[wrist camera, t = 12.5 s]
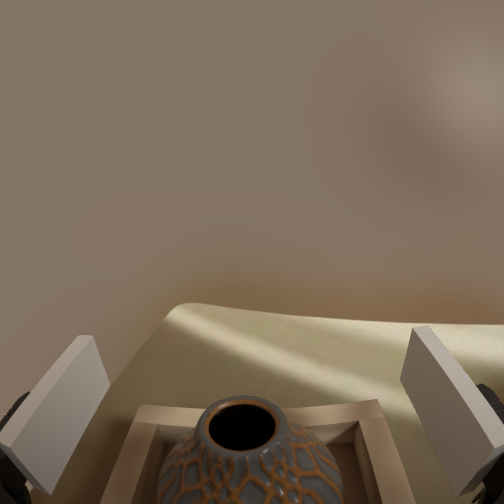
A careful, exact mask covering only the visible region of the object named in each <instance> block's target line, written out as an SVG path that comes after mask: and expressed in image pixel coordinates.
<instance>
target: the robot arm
mask: <svg viewBox="0 0 504 504" xmlns="http://www.w3.org/2000/svg"><path fill="white" fill-rule="evenodd" d="M400 381H401V383H402V385H403V387H404V389H405V391H406V393H407V395H408V397H409V398H410V400H411V402H412V404H413V406H414V408H415V410H416V412H417V414H418V416H419V418H420V420H421V422H422V424H423V426H424V428H425V430H426V433H427V435H428V437H429V439H430V441H431V443H432V445H433V447H434V449H435V452H436V454H437V456H438V458H439V460H440V462H441V465H442V467H443V469H444V471H445V474H446V476H447V478H448V480H449V483H450V485H451V487H452V490H453V492H454V494H455V497H456V498H457V497H459V496H461V495H464V494H466V493H468V492H471V491H473V490H474V489H475V488H476V487H477V486H478V485H479V484H480V482H481V481H483V483H484V485H485V487H484V488H483V489H482V490H481V491H480V492H479V493H478V495H477V496H476V497H475V498H474V499H473V501H472V503H473V504H474V503H475V502H476V501H477V500H478V499H479V501H478V504H504V405H503V404H502V402H500V401H499V398H498V397H497V396H496V394H495V393H494V392H493V390H491V389H490V388H488V387H487V386H485V385H484V384H479V385H475V384H474V383H473V381H472V380H471V379H470V377H469V376H468V375H467V373H466V372H465V371H464V370H463V368H462V367H461V366H460V364H459V363H458V362H457V361H456V359H455V358H454V357H453V356H452V354H451V353H450V352H449V351H448V349H447V348H446V347H445V346H444V344H443V343H442V342H441V341H440V340H439V338H438V337H437V336H436V335H435V333H434V332H433V331H432V330H431V329H430V327H429V326H422V327H415V328H412V332H411V336H410V341H409V345H408V350H407V354H406V358H405V362H404V366H403V369H402V373H401V377H400ZM109 387H110V383H109V380H108V378H107V375H106V373H105V370H104V367H103V364H102V361H101V358H100V356H99V353H98V350H97V347H96V344H95V341H94V338H93V336H87V335H86V336H85V335H78V337H77V338H76V339H75V340H74V341H73V342H72V343H71V345H70V346H69V347H68V348H67V349H66V350H65V351H64V353H63V354H62V355H61V356H60V357H59V358H58V360H57V361H56V362H55V363H54V364H53V366H52V367H51V368H50V369H49V371H48V372H47V373H46V374H45V375H44V376H43V378H42V379H41V380H40V381H39V383H38V384H37V385H36V386H35V388H34V389H33V390H32V391H31V392H27V393H26V394H24V395H23V396H21V397H20V398H19V399H18V400H17V401H16V402H15V404H14V405H13V406H12V409H10V410H9V411H8V413H7V415H5V416H4V418H3V419H2V420H1V422H0V504H32V503H31V499H30V495H29V491H28V489H27V487H26V486H25V483H26V481H27V480H28V481H29V482H30V483H31V484H32V485H33V486H34V488H35V489H38V490H40V491H42V492H44V493H47V494H49V495H52V493H53V491H54V489H55V487H56V485H57V483H58V481H59V479H60V477H61V475H62V473H63V471H64V469H65V467H66V465H67V463H68V461H69V459H70V457H71V455H72V453H73V452H74V450H75V448H76V446H77V444H78V442H79V440H80V439H81V437H82V435H83V433H84V431H85V429H86V427H87V426H88V424H89V422H90V420H91V418H92V417H93V415H94V413H95V411H96V409H97V408H98V406H99V404H100V402H101V401H102V399H103V397H104V395H105V394H106V392H107V390H108V388H109Z"/></svg>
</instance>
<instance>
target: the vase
mask: <svg viewBox="0 0 504 504" xmlns="http://www.w3.org/2000/svg"><path fill="white" fill-rule="evenodd" d="M157 499H158V504H344V501H345V493H344V485H343V480H342V476H341V473H340V470H339V467H338V465H337V463H336V460H335V459H334V457H333V455H332V453H331V452H330V451H329V449H328V448H327V447H326V445H325V444H324V443H323V442H322V441H321V440H320V439H319V438H318V437H317V436H316V435H314V434H313V433H312V432H311V431H309V430H308V429H306V428H305V427H303V426H301V425H300V424H298V423H296V422H294V421H292V420H290V419H288V418H287V417H286V416H285V414H284V413H283V412H282V411H281V409H280V408H279V407H277V406H276V405H275V404H273V403H272V402H270V401H268V400H266V399H263V398H259V397H255V396H234V397H229V398H225V399H222V400H220V401H218V402H216V403H214V404H212V405H211V406H209V407H208V408H207V409H206V410H205V411H204V412H203V413H202V415H201V416H200V418H199V420H198V422H197V425H196V427H195V428H193V429H192V430H191V431H189V432H188V433H187V434H186V435H185V436H183V437H182V438H181V439H180V440H179V441H178V442H177V443H176V445H175V446H174V447H173V448H172V450H171V451H170V453H169V454H168V456H167V457H166V459H165V461H164V464H163V466H162V469H161V472H160V476H159V481H158V490H157Z"/></svg>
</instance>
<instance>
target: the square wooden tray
mask: <svg viewBox="0 0 504 504" xmlns="http://www.w3.org/2000/svg"><path fill="white" fill-rule="evenodd" d="M205 410H206V409H195V408H179V407H166V406H155V405H145V404H140V406H139V409H138V411H137V413H136V415H135V418H134V420H133V422H132V425H131V427H130V430H129V432H128V434H127V437H126V439H125V441H124V444H123V446H122V449H121V451H120V453H119V456H118V458H117V461H116V463H115V466H114V468H113V471H112V473H111V476H110V478H109V481H108V483H107V486H106V488H105V491H104V493H103V496H102V499H101V501H100V504H158V499H157V490H158V481H159V476H160V472H161V469H162V466H163V464H164V461H165V459H166V457H167V456H168V454H169V453H170V451H171V450H172V448H173V447H174V446H175V445H176V443H177V442H178V441H179V440H180V439H181V438H182V437H183V436H185V435H186V434H187V433H188V432H189V431H191V430H192V429H193V428H195V427H196V425H197V422H198V420H199V418H200V416H201V415H202V413H203V412H204V411H205ZM281 411H282V412H283V413H284V414H285V416H286V417H287V418H288V419H290V420H292V421H294V422H296V423H298V424H300V425H301V426H303V427H305V428H306V429H308V430H309V431H311V432H312V433H313V434H314V435H316V436H317V437H318V438H319V439H320V440H321V441H322V442H323V443H324V444H325V445H326V447H327V448H328V449H329V451H330V452H331V453H332V455H333V457H334V459H335V460H336V463H337V465H338V467H339V470H340V473H341V476H342V480H343V485H344V493H345V501H344V504H416V502H415V499H414V496H413V493H412V490H411V487H410V484H409V481H408V479H407V476H406V473H405V470H404V467H403V465H402V462H401V459H400V456H399V454H398V451H397V448H396V446H395V443H394V440H393V438H392V435H391V432H390V430H389V427H388V425H387V422H386V420H385V417H384V415H383V412H382V410H381V407H380V405H379V402H378V400H377V399H374V400H367V401H360V402H353V403H345V404H336V405H326V406H316V407H303V408H286V409H281Z"/></svg>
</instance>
